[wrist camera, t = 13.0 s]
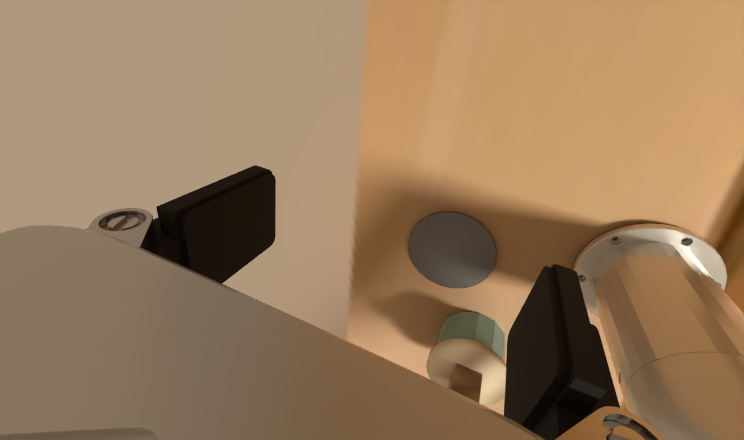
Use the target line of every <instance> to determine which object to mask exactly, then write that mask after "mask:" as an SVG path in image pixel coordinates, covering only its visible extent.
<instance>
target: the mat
mask: <svg viewBox="0 0 744 440" xmlns="http://www.w3.org/2000/svg"><path fill="white" fill-rule="evenodd" d="M409 252H410V256H411V259H412V261H413V263H414V265H415V266H416V268H417V269H418V270H419V271H420V273H421V274H423V275H424V276H425V277H426V278H428V279H429V280H431V281H432V282H434V283H436V284H439V285H441V286H445V287H449V288H466V287H471V286H474V285H476V284H478V283H480V282H482V281H483V280H484V279H485V278H487V277H488V275H489V274H490V273H491V271H492V270H493V268H494V265H495V261H496V247H495V243H494V240H493V238H492V236H491V235H490V233H489V232H488V230H487V229H486V228H485V227H484V226H483V225H482V224H481V223H479V222H478V221H477V220H475V219H473V218H471V217H469V216H467V215H464V214H461V213H456V212H440V213H435V214H432V215H430V216H428V217H426V218H424V219H423V220H421V221H420V222H419V223H418V224H417V226H416V227H415V228H414V230H413V232H412V234H411V237H410V240H409Z"/></svg>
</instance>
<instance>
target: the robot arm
mask: <svg viewBox="0 0 744 440" xmlns="http://www.w3.org/2000/svg"><path fill="white" fill-rule="evenodd" d="M157 212H158V217H159V218H156V219H154V220H153V216H152V215H151V213H150V212H148V211H146V210H142V209H136V208H126V209H119V210H114V211H110V212H107V213H104V214H102V215H100V216H98V217H97V218H96V219H95V220H94V221H93V222H92V223H91V224H90V226H89V227H88V228H87V229H86V230H85V229H80V228H73V227H63V226H27V227H22V228H17V229H13V230H10V231H6V232H3V233H0V440H744V314H743V313H742V311H741V310H740V309H739V308H738V307H737V305H736V304H735V303H734V302H733V301H732V300H731V298H730V297H729V296H728V295H727V294H726V293H725V291H724V289H725V286H726V281H727V273H726V267H725V264H724V262H723V260H722V258H721V256H720V255H719V254H718V253H717V251H716V250H715V249H714V248H713V247H712V246H711V245H710V244H709V243H708V242H707V241H705V240H704V239H703V238H701V237H699V236H698V235H696V234H694V233H693V232H690V231H687V230H685V229H682V228H680V227H675V226H670V225H665V224H652V223H647V224H634V225H629V226H624V227H620V228H617V229H614V230H612V231H609V232H606V233H604V234H603V235H601V236H599V237H597V238H595V239H594V240H593V241H592V242H590V243H589V244H588V245H586V247H585V248H584V249H583V250H582V251H581V252H580V254H579V255H578V257H577V259H576V261H575V263H574V267H573V270H571V269H568V268H565V267H562V266H559V265H556V264H554V265H553V266H552V267H551V268H550V267H547V266H545V267H544V268H543V270H542V271H541V273H540V275H539V277H538V279H537V281H536V282H535V284H534V286H533V288H532V290H531V292H530V294H529V296H528V297H527V299H526V301H525V303H524V305H523V307H522V309H521V311H520V312H519V314H518V316H517V318H516V320H515V322H514V324H513V325H512V327H511V329H510V332H509V335H508V340H507V361H506V383H505V405H504V416H503V415H501V414H499V413H497V412H495V411H493V410H491V409H489V408H487V407H485V406H484V405H482V404H480V403H478V402H476V401H474V400H472V399H470V398H468V397H466V396H464V395H462V394H460V393H457V392H455V391H453V390H451V389H449V388H447V387H444V386H442V385H440V384H438V383H436V382H434V381H432V380H430V379H428V378H426V377H424V376H421V375H419V374H417V373H415V372H413V371H411V370H409V369H406V368H404V367H402V366H400V365H398V364H396V363H393V362H391V361H389V360H387V359H385V358H383V357H381V356H378V355H376V354H374V353H372V352H370V351H368V350H365V349H363V348H361V347H359V346H357V345H355V344H353V343H350V342H348V341H346V340H344V339H341V338H339V337H337V336H335V335H333V334H331V333H329V332H327V331H324V330H322V329H320V328H318V327H316V326H313V325H311V324H309V323H307V322H305V321H302V320H300V319H298V318H296V317H294V316H292V315H289V314H287V313H285V312H283V311H281V310H278V309H276V308H274V307H272V306H270V305H267V304H265V303H263V302H261V301H259V300H257V299H254V298H252V297H250V296H248V295H246V294H243V293H241V292H239V291H237V290H234V289H232V288H230V287H228V286H226V285H223V284H222V283H223V282H225V281H226V280H227V279H228V278H230V277H231V276H232V275H234V274H235V273H236V272H238V271H239V270H240V269H241V268H243V267H244V266H245V265H247V264H248V263H249V262H251V261H252V260H253V259H254V258H256V257H257V256H258V255H259V254H261V253H262V252H263V251H265V250H266V249H267V248H269V247H270V246H271V245H272V244H273V242H274V240H275V177H274V175H273V174H272V172H271V171H270V170H268V169H265V168H262V167H259V166H252V167H250V168H247V169H245V170H243V171H241V172H238V173H236V174H233V175H231V176H228V177H226V178H224V179H221V180H219V181H217V182H214V183H212V184H209V185H207V186H205V187H202V188H200V189H198V190H195V191H193V192H190V193H188V194H186V195H183V196H181V197H179V198H176V199H174V200H171V201H169V202H167V203H165V204H162V205H160V206H157ZM614 237H616V238H615V239H612V238H614ZM684 238H685V239H684ZM586 308H587V309H588V310H590V311H591V312H592V313H594V314H595V315H597V316H598V317H599V318H600V321H601V324H602V328H603V331H604V335H605V338H606V341H607V345H608V348H609V351H610V355H611V358H612V361H613V365H614V368H615V371H616V375H617V378H618V381H619V385H620V388H621V391H622V395H623V398H624V402H625V405H626V408H627V410H624V409H621V408H620V406H619V402H618V399H617V395H616V392H615V388H614V385H613V381H612V377H611V374H610V370H609V367H608V363H607V360H606V356H605V352H604V349H603V345H602V342H601V338H600V335H599V331H598V329H597V327H596V326H594V325H592V324H590V321H589V317H588V313H587V309H586Z"/></svg>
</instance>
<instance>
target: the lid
mask: <svg viewBox="0 0 744 440" xmlns="http://www.w3.org/2000/svg"><path fill="white" fill-rule="evenodd" d="M427 372H428V375H429V377H430V379H431V380H432V381H434V382H436V383H438V384H440V385H442V386H444V387H447V388H449V389H451V390H453V391H455V392H457V393H460V394H462V395H464V396H466V397H468V398H470V399H472V400H474V401H476V402H478V403H480V404H482V405H491V404H495V403H497V402H499V401H501V400H502V399H503V398H504V397H505V383H506V364H505V362H504V361H503V360H502V358H501V357H500V356H499V355H498V354H496V353H495V352H494V351H493V350H491V349H490V348H488V347H486V346H485V345H483V344H480V343H478V342H475V341H472V340H468V339H459V338H455V339H447V340H443V341H441V342H439V343H437V344H436V345H435V346H434V347H433V348H432V349H431V351H430V353H429V357H428V360H427Z"/></svg>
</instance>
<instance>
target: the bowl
mask: <svg viewBox="0 0 744 440" xmlns="http://www.w3.org/2000/svg"><path fill="white" fill-rule="evenodd" d="M504 335H505V334H504V333H503V331H502V330H501V329H500V327H499V326H498V325H497V324H496V322H495V321H493V320H491V319H489V318H488V317H486V316H484V315H482V314H480V313H474V312H465V311H461V312H458V313H455V314H453V315H450V316H448V317H447V319H446V320H445V322H444V323H443V325H442V326H441V330H440V333H439V337H438V340H437V343H439V342H441V341H443V340H447V339H455V338H459V339H468V340H472V341H475V342H478V343H480V344H483V345H485V346H486V347H488V348H490V349H491V350H493V351H494V352H495V353H496V354H498V355H499V356H500V357H501V358H502V360H503V361H504V358H505V337H504ZM437 343H436V344H437Z"/></svg>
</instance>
